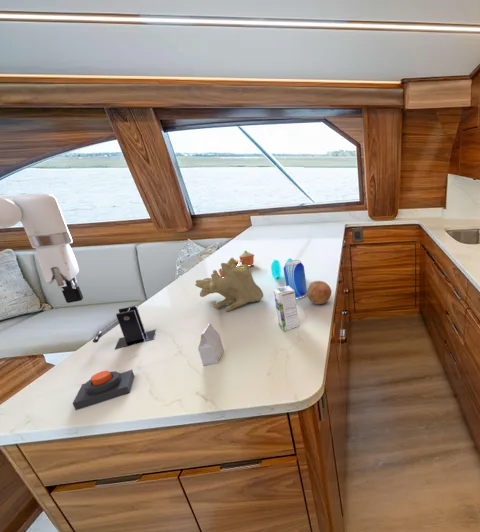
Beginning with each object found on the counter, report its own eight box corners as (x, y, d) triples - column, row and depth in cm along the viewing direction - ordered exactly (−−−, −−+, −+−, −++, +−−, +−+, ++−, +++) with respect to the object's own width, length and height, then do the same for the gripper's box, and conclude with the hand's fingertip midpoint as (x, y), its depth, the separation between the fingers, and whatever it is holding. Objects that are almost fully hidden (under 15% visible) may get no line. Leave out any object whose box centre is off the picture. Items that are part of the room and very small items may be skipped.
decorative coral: (275, 281, 118) (212, 247, 109) (243, 330, 115) (175, 299, 106) (275, 275, 142) (223, 247, 133) (248, 316, 138) (193, 290, 129)
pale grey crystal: (223, 350, 94) (216, 322, 91) (217, 363, 88) (209, 333, 85) (210, 352, 93) (203, 324, 90) (203, 365, 87) (194, 335, 84)
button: (91, 387, 74) (88, 381, 73) (94, 379, 77) (92, 374, 76) (110, 382, 76) (108, 376, 75) (113, 374, 78) (111, 368, 78)
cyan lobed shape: (293, 279, 153) (290, 261, 149) (272, 281, 151) (269, 262, 147) (295, 273, 162) (292, 255, 159) (275, 275, 160) (272, 257, 157)
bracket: (115, 352, 94) (102, 319, 91) (120, 340, 101) (108, 309, 97) (155, 341, 100) (144, 310, 96) (157, 331, 106) (147, 301, 102)
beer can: (292, 292, 137) (287, 259, 132) (310, 292, 136) (305, 259, 131) (284, 300, 129) (279, 265, 124) (303, 300, 129) (299, 265, 123)
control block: (75, 410, 71) (69, 397, 70) (85, 391, 78) (79, 378, 77) (129, 393, 77) (124, 380, 75) (134, 376, 83) (130, 364, 82)
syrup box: (278, 325, 108) (271, 289, 103) (294, 320, 112) (288, 284, 107) (283, 332, 104) (277, 294, 99) (300, 326, 107) (294, 289, 103)
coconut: (337, 300, 128) (335, 278, 124) (321, 310, 119) (318, 287, 116) (319, 296, 132) (317, 275, 129) (303, 305, 124) (300, 283, 120)
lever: (97, 344, 92) (89, 340, 91) (102, 336, 97) (94, 331, 96) (134, 317, 96) (127, 313, 94) (137, 310, 100) (130, 306, 99)
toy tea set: (229, 265, 178) (225, 249, 175) (256, 262, 182) (254, 247, 178) (215, 280, 154) (211, 262, 151) (248, 277, 158) (244, 259, 155)
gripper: (41, 237, 85) (65, 295, 91) (18, 247, 74) (47, 313, 79) (78, 233, 89) (98, 290, 95) (62, 243, 78) (86, 306, 83)
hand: (75, 300), depth 87 cm, fingers closed
